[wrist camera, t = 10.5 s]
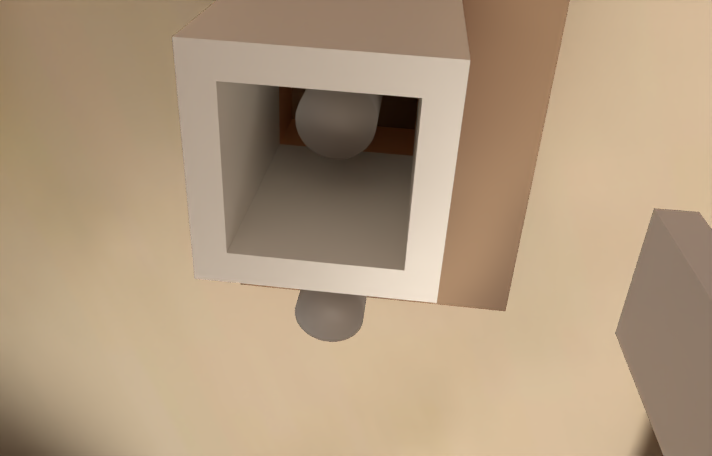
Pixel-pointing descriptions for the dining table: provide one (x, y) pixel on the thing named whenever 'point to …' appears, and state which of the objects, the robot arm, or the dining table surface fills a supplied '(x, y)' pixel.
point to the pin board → (474, 158)
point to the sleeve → (303, 166)
